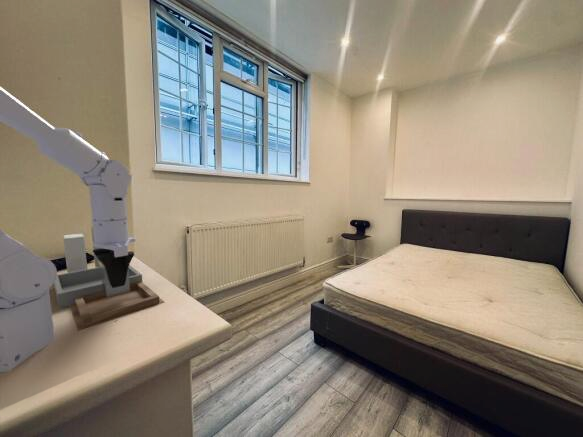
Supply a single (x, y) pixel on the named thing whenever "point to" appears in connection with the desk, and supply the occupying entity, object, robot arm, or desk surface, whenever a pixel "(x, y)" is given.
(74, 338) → the desk surface
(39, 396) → the desk surface
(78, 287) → the bin
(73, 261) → the skincare box
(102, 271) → the grey tall block
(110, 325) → the desk surface
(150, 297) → the socket block
